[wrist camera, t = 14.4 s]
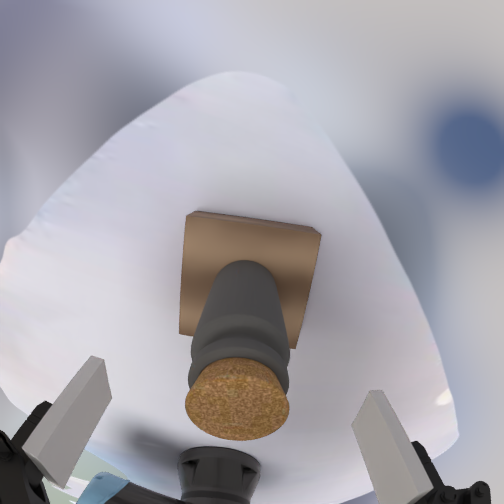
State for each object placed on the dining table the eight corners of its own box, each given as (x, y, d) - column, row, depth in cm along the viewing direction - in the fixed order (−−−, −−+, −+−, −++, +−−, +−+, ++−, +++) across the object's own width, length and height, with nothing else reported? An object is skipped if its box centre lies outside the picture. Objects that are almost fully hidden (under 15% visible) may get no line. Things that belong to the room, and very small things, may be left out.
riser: (290, 329, 31) (295, 349, 27) (187, 316, 30) (179, 333, 26) (312, 227, 28) (321, 234, 24) (195, 210, 27) (186, 215, 23)
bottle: (284, 268, 25) (322, 379, 10) (265, 323, 26) (277, 453, 12) (221, 251, 24) (180, 349, 10) (206, 309, 26) (167, 432, 11)
